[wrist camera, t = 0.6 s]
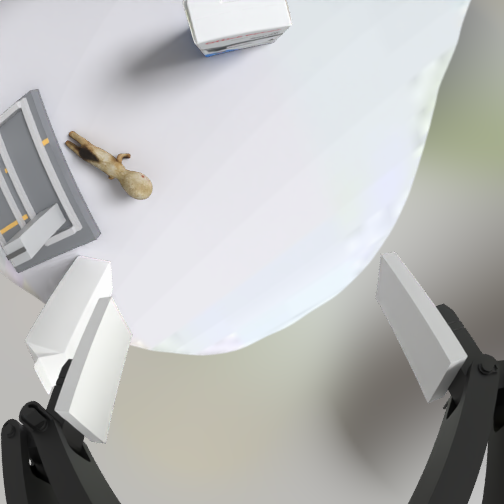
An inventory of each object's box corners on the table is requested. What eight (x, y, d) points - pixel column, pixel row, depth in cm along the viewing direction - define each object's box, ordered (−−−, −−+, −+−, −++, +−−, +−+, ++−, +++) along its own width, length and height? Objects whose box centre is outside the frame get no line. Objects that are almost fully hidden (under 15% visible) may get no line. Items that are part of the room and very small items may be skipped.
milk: (111, 260, 43) (56, 374, 24) (113, 290, 46) (70, 402, 27) (77, 254, 42) (13, 359, 23) (81, 284, 45) (29, 388, 26)
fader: (39, 212, 36) (1, 248, 27) (56, 202, 35) (18, 238, 26) (48, 229, 37) (13, 268, 28) (66, 220, 37) (30, 259, 28)
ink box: (205, 59, 30) (192, 46, 20) (195, 23, 27) (179, -2, 17) (275, 43, 29) (295, 25, 19) (266, 8, 27) (281, -23, 17)
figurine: (75, 146, 36) (153, 200, 37) (54, 151, 31) (137, 210, 33) (84, 124, 34) (165, 176, 36) (63, 126, 30) (150, 184, 32)
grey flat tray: (-33, 153, 30) (-46, 159, 27) (38, 89, 28) (24, 91, 25) (23, 266, 43) (14, 277, 40) (101, 233, 41) (92, 244, 38)
